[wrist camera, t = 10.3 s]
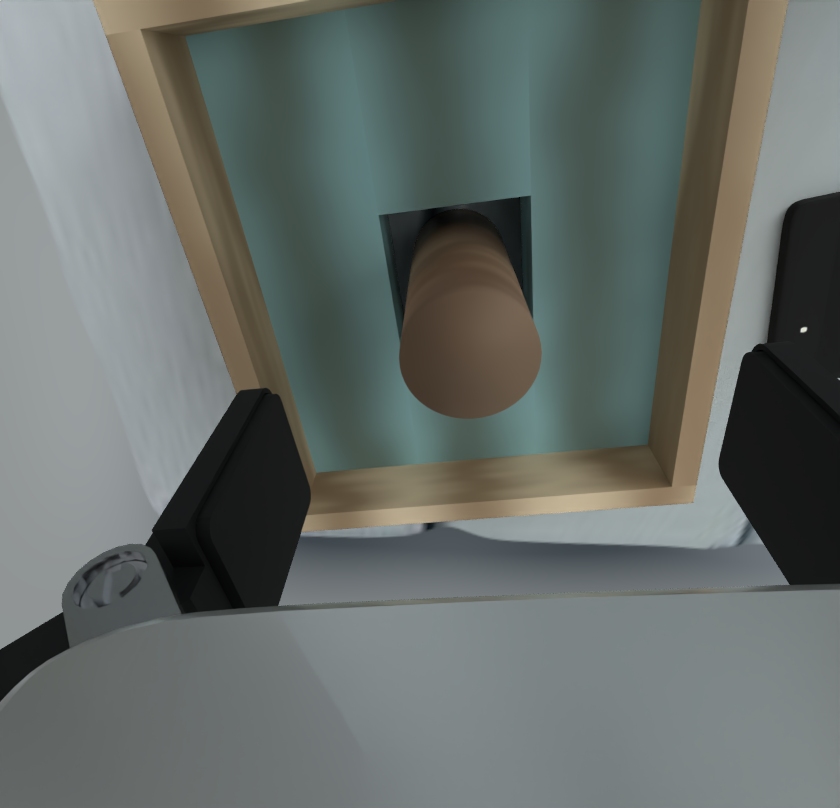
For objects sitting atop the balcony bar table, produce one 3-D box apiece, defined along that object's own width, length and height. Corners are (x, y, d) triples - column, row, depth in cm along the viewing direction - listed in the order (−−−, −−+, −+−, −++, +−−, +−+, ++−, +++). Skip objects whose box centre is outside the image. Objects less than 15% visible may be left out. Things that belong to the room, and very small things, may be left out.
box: (704, -79, 17) (815, -142, 12) (646, 424, 28) (693, 502, 23) (182, 12, 19) (88, -11, 14) (313, 453, 29) (287, 533, 24)
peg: (501, 202, 22) (541, 283, 14) (505, 293, 24) (542, 412, 16) (407, 215, 22) (388, 300, 14) (419, 303, 25) (409, 424, 16)
